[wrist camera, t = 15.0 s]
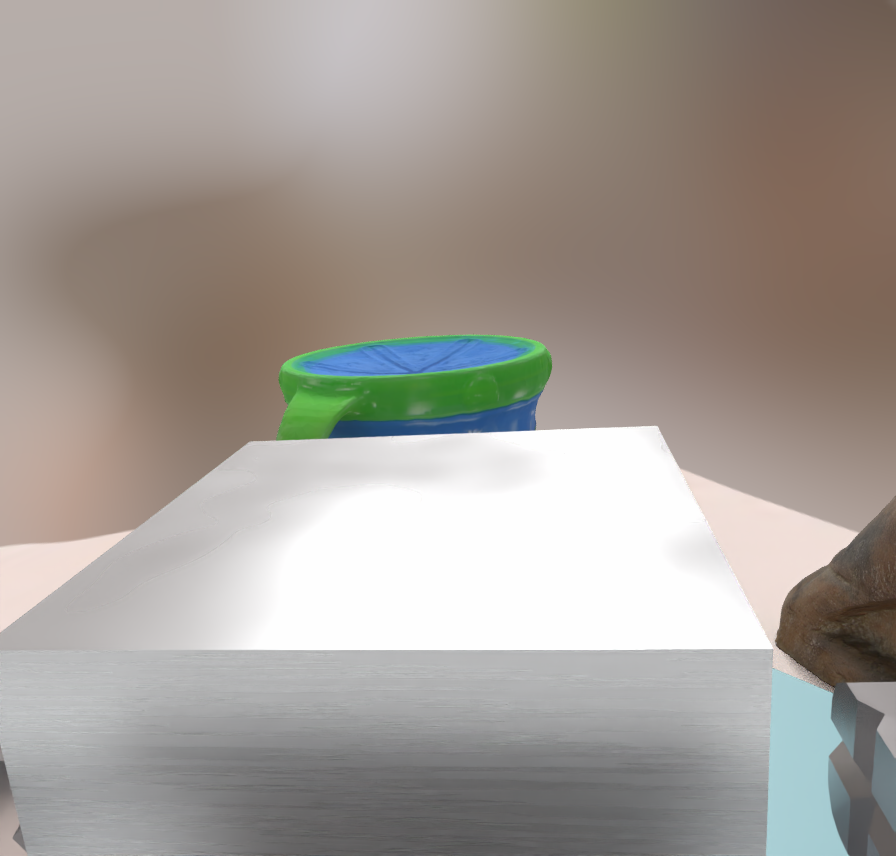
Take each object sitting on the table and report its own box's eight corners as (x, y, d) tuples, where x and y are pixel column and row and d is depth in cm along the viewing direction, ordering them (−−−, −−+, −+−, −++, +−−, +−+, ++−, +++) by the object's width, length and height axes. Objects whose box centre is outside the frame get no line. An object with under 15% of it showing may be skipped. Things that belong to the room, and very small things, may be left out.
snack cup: (450, 508, 43) (435, 321, 41) (628, 546, 37) (625, 325, 34) (205, 632, 32) (163, 381, 29) (403, 720, 25) (372, 405, 22)
